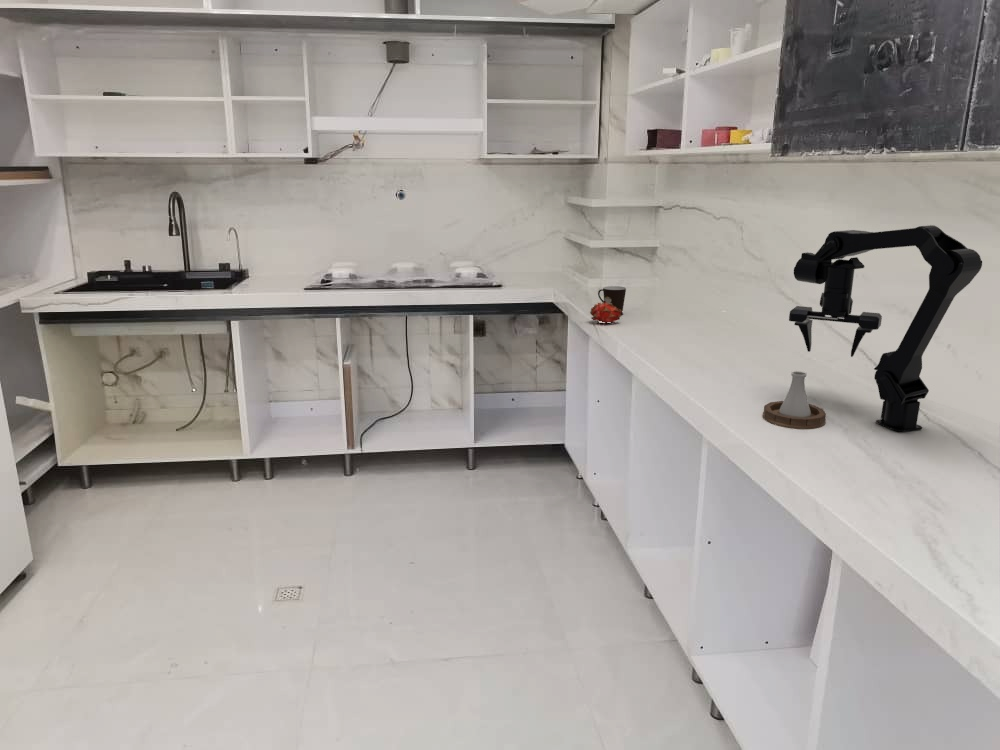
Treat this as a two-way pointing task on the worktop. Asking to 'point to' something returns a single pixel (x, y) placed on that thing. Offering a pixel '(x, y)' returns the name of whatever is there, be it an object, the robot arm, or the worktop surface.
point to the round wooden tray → (794, 422)
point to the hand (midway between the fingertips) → (830, 353)
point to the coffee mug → (614, 296)
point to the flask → (796, 398)
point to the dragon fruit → (605, 312)
